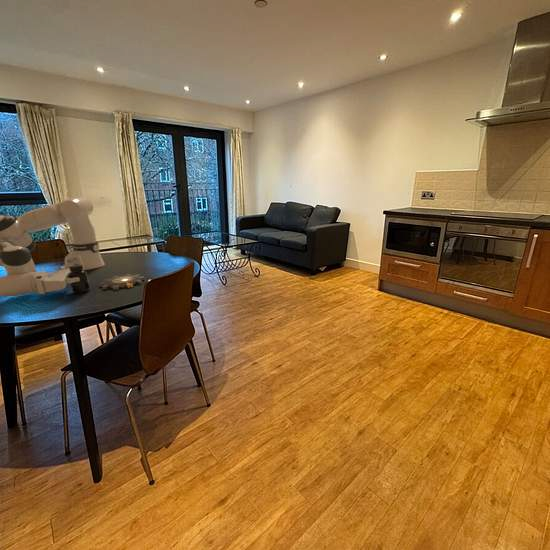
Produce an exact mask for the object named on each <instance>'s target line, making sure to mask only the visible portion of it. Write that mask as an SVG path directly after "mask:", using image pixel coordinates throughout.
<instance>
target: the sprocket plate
mask: <svg viewBox="0 0 550 550" xmlns="http://www.w3.org/2000/svg"><path fill="white" fill-rule="evenodd" d="M142 280H144V281H145V276H142V275H141V274H131V273H130V274H124V275H114V276H112V277H110V278H105V279H104V280H102V282H100V283H99V287H100V288H102V290H104V289H106V291H107V289H108V290H113V291H120V289H125V287H126V288H127V289H130V287H131V288H133V287H134V286H136V285H141V284H143V283H142V282H143V281H142ZM135 284H136V285H135ZM133 285H134V286H133Z"/></svg>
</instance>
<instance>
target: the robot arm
mask: <svg viewBox="0 0 550 550" xmlns="http://www.w3.org/2000/svg"><path fill="white" fill-rule="evenodd" d="M93 211H94V205H93V203H92V201H90V200H89V199H88V198H85V197H83V196H82V197H81V196H78V197H72V198H67V199H65V200H62V201H59V202H56V203H52V204H48V205H45V206H42V207H39V208H35V209H33V210H30V211H27V212H24V213H22V214H21V215H19V216H16V215H10V214H0V267H2V268H4V269H5V271H6V273H7V274H6V275H4V276H0V297H3V298H4V297H5V298H7V297H18V296H24V295H27V294H39V295H44V294H46V293H50V292H55V291H60V290H64V289H66V288H67V286H68V285H71V283H73V282H77V281H80V277H74V278H69V273H70V272H71V271H70V268H69V267H70V266H72V265H79V264H81V265H82V266H83V270H84V271H87V270H92V269H93V270H94V269H97V268H98V269H99V268H101V267H104V266H105V265H106V264H105V262H104V260H103V257H102V255H101V252H100V246H99V241H98V240H97V235H96V232H95V231H96V230H95V227H94V226H93V224H92V222H91V220H90V218H89V216H90V215H91V214H92V213H93ZM64 224H67V225H68V227H69V229H70V232H71V236H72V240H73V244H71V245H70V248H72V250H71V252H70V253H68V254H67V255H66V256H65V258H64V265H62V266H61V267H60V269H59V270H58V269H57V270H53V271H51V272H48V271H47V270H39V271H37V269H36V265H35V263H34V260H33V257H32V253H31V252H33V251H34V250H35V249H36V247H37V243H36V241H35V239H33V237H31V235H30V234H29V233H35V232H41V231H44V230H48V229H50V228H51V229H52V228H53V227H54V228H55V227H58V226H60V225H64Z"/></svg>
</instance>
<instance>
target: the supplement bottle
mask: <svg viewBox="0 0 550 550" xmlns="http://www.w3.org/2000/svg"><path fill="white" fill-rule="evenodd" d="M69 268H70V271H71V272H70V273H69V278H74V277H80V281H77V282H73V283H70V286H71V291H72V293H73V294H75V293H80V294H85V293H87V291H88V292H89V291H91V286H90V281H89V277H88V272H87V270H83V266H82V265H81V264H79V265H72V266H70V267H69ZM84 292H85V293H84Z"/></svg>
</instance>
